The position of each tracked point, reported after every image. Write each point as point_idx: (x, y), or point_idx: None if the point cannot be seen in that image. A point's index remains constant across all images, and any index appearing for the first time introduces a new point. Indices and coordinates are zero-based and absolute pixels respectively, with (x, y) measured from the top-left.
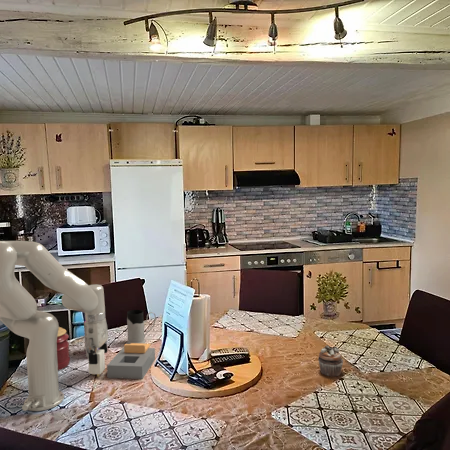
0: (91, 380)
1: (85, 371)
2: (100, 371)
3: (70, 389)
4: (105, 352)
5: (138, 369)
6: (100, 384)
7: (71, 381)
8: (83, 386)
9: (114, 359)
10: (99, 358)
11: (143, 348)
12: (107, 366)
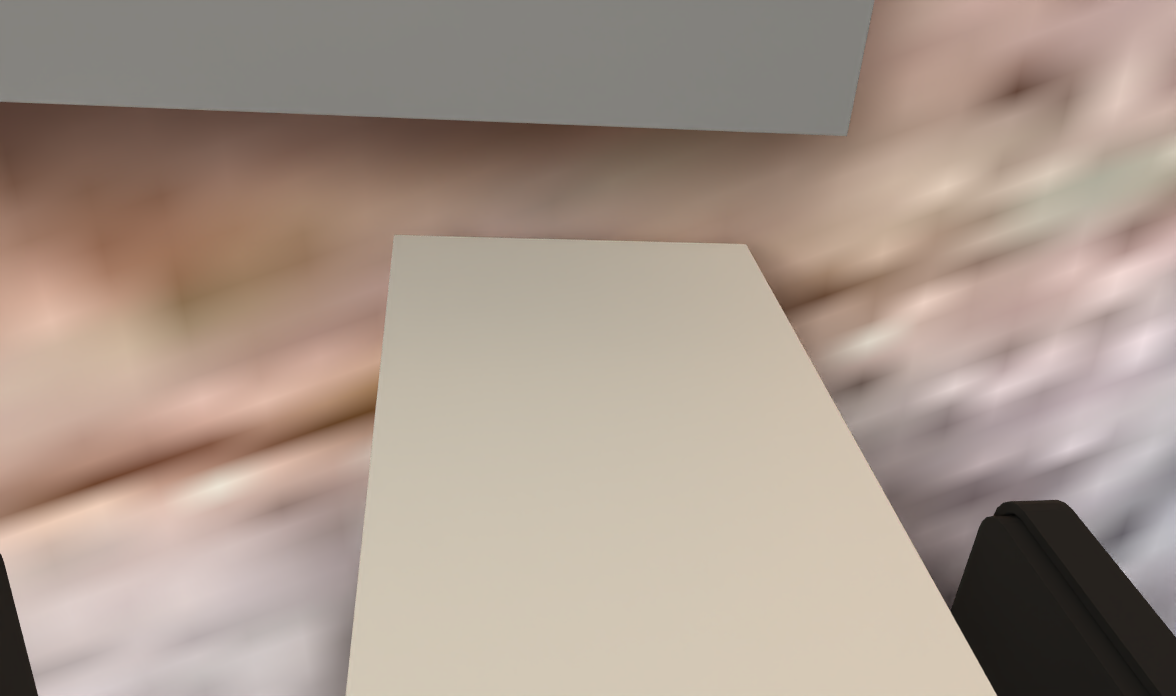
0: (833, 360)
1: None
2: (748, 278)
3: (1156, 579)
4: (2, 589)
5: None
6: (1092, 72)
7: None
8: (1094, 412)
9: (220, 5)
10: (914, 574)
11: None
12: (840, 103)
